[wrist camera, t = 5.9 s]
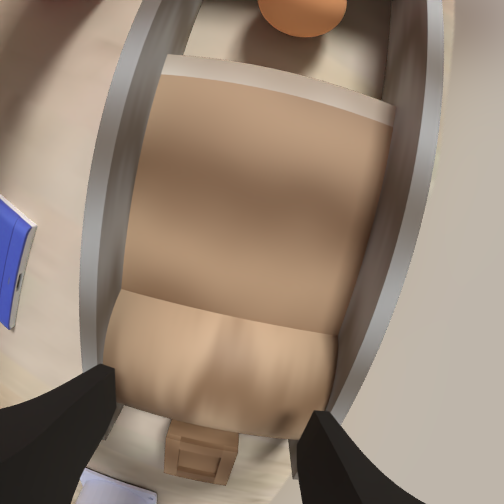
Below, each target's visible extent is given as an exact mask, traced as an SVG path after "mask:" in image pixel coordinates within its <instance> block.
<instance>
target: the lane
mask: <svg viewBox="0 0 504 504" xmlns="http://www.w3.org/2000/svg"><path fill="white" fill-rule="evenodd" d="M202 1H203V0H143V1H142V3H141V5H140V8H139V10H138V12H137V14H136V17H135V19H134V21H133V24H132V26H131V29H130V31H129V34H128V36H127V39H126V41H125V44H124V47H123V49H122V52H121V55H120V58H119V61H118V64H117V67H116V70H115V73H114V76H113V79H112V82H111V85H110V89H109V92H108V96H107V99H106V103H105V106H104V110H103V114H102V118H101V122H100V126H99V131H98V135H97V139H96V144H95V149H94V154H93V159H92V164H91V170H90V176H89V182H88V189H87V196H86V203H85V211H84V220H83V230H82V242H81V257H80V283H79V317H80V342H81V357H82V369H83V373H84V372H86V371H87V370H89V369H91V368H93V367H94V366H96V365H98V364H100V363H101V364H104V365H107V366H109V367H112V368H115V387H116V406H117V408H116V410H115V413H114V415H113V418H112V420H111V423H110V425H109V427H108V429H107V431H106V433H105V435H104V436H103V438H102V439H103V440H106V438H107V436H108V435H109V433H110V431H111V429H112V427H113V425H114V423H115V421H116V419H117V417H118V416H119V414H120V412H121V410H122V408H123V406H124V405H126V406H130V407H133V408H136V409H139V410H142V411H145V412H149V413H152V414H156V415H159V416H163V417H167V418H170V419H174V420H178V421H182V422H186V423H191V424H195V425H199V426H204V427H209V428H214V429H219V430H224V431H230V432H236V433H242V434H249V435H256V436H263V437H272V438H281V439H288V442H289V451H290V459H291V468H292V477H293V479H298V480H299V478H298V472H297V443H298V441H299V439H300V437H301V435H302V433H303V431H304V429H305V427H306V425H307V423H308V421H309V419H310V417H311V415H312V413H313V411H314V410H318V411H329V412H330V413H331V414H332V415H333V417H334V418H335V419H336V420H337V422H338V423H339V424H340V426H341V424H342V422H343V420H344V418H345V417H346V415H347V413H348V411H349V409H350V407H351V406H352V404H353V402H354V400H355V398H356V396H357V394H358V392H359V390H360V388H361V386H362V384H363V382H364V380H365V377H366V376H367V373H368V371H369V369H370V367H371V365H372V362H373V360H374V358H375V356H376V354H377V351H378V349H379V347H380V344H381V342H382V340H383V337H384V335H385V332H386V330H387V327H388V325H389V322H390V320H391V317H392V314H393V312H394V309H395V306H396V304H397V301H398V298H399V295H400V292H401V289H402V287H403V284H404V280H405V278H406V274H407V271H408V268H409V265H410V262H411V258H412V255H413V252H414V248H415V245H416V241H417V237H418V234H419V230H420V226H421V222H422V218H423V214H424V210H425V205H426V201H427V196H428V192H429V187H430V182H431V177H432V171H433V166H434V160H435V154H436V147H437V140H438V133H439V124H440V115H441V105H442V92H443V73H444V26H443V8H442V0H392V2H391V20H390V33H389V44H388V54H387V64H386V72H385V80H384V87H383V94H382V101H381V100H378V99H375V98H373V97H370V96H367V95H364V94H362V93H359V92H356V91H353V90H350V89H347V88H344V87H341V86H338V85H334V84H331V83H328V82H324V81H321V80H317V79H314V78H310V77H306V76H303V75H299V74H295V73H291V72H286V71H282V70H277V69H273V68H268V67H263V66H258V65H253V64H247V63H241V62H235V61H229V60H221V59H214V58H206V57H196V56H185V55H183V53H184V50H185V47H186V44H187V41H188V38H189V35H190V33H191V30H192V27H193V24H194V22H195V19H196V16H197V14H198V11H199V8H200V6H201V3H202Z"/></svg>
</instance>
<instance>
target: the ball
mask: <svg viewBox="0 0 504 504" xmlns="http://www.w3.org/2000/svg"><path fill="white" fill-rule="evenodd" d="M258 5H259V8H260V11H261V13H262V15H263V16H264V18H265V19H266V20H267V21H268V22H269V23H270V24H271V25H272V26H273V27H274V28H276V29H277V30H279V31H281V32H283V33H286V34H288V35H292V36H296V37H315V36H319V35H322V34H325V33H327V32H329V31H331V30H332V29H333V28H335V27H336V26H337V25H338V24H339V23H340V21H341V20H342V18H343V16H344V14H345V11H346V6H347V0H258Z"/></svg>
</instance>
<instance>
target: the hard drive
mask: <svg viewBox="0 0 504 504" xmlns="http://www.w3.org/2000/svg"><path fill="white" fill-rule="evenodd" d="M36 228H37V225H36V224H35V223H34V222H32V221H31V220H30V219H29V218H28V217H26V216H25V215H24V214H23V213H22V212H21V211H20V210H18V209H17V208H16V207H15V206H14V205H13V204H11V203H10V202H9V201H8V200H7V199H6V198H5V197H3V196H2V195H1V194H0V322H1V323H2V324H3V325H4V326H5V327H6V328H7V329H8V330H10V329H11V328H12V327H14V326H15V321H16V314H17V308H18V302H19V297H20V291H21V287H22V282H23V277H24V273H25V268H26V264H27V260H28V256H29V253H30V249H31V245H32V242H33V238H34V235H35V232H36Z"/></svg>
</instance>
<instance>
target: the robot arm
mask: <svg viewBox="0 0 504 504" xmlns="http://www.w3.org/2000/svg"><path fill="white" fill-rule="evenodd" d="M116 408H117V406H116V387H115V368H112V367H109V366H107V365H104V364H101V363H100V364H98V365H96V366H94V367H93V368H91V369H89V370H87V371H86V372H84V373H82V374H81V375H79V376H77V377H75V378H74V379H72V380H70V381H68V382H66V383H65V384H63V385H61V386H59V387H57V388H55V389H53V390H51V391H49V392H47V393H45V394H43V395H40V396H38V397H36V398H34V399H31V400H29V401H26V402H23V403H20V404H17V405H14V406H10V407H6V408H2V409H0V504H71V501H72V498H73V495H74V492H75V490H76V487H77V485H78V482H79V480H81V483H82V486H83V488H82V490H81V492H80V494H79V496H78V498H77V501H76V503H75V504H157V494H156V493H155V492H152V491H149V490H146V489H142V488H139V487H136V486H133V485H130V484H127V483H124V482H121V481H118V480H115V479H113V478H110V477H107V476H105V475H102V474H100V473H97V472H95V471H92V470H90V469H87V468H85V467H86V466H87V464H88V462H89V460H90V459H91V457H92V455H93V454H94V452H95V450H96V448H97V447H98V445H99V443H100V442H101V440H102V438H103V436H104V435H105V433H106V431H107V429H108V427H109V425H110V423H111V420H112V418H113V415H114V413H115V410H116ZM297 472H298V478H299V485H300V490H301V497H302V503H303V504H425V503H424V502H422V501H420V500H418V499H416V498H415V497H413V496H412V495H410V494H409V493H407V492H406V491H404V490H403V489H402V488H400V487H399V486H397V485H396V484H395V483H394V482H393V481H391V480H390V479H389V478H388V477H387V476H385V475H384V474H383V473H382V472H381V471H380V470H379V469H378V468H377V467H376V466H375V465H374V464H373V463H372V462H371V461H370V460H369V459H368V458H367V457H366V456H365V455H364V454H363V452H361V450H360V449H359V448H358V447H357V446H356V444H355V443H354V442H353V441H352V440H351V438H350V437H349V436H348V435H347V433H346V432H345V431H344V429H343V428H342V427H341V426H340V424H339V423H338V422H337V420H336V419H335V418H334V417H333V415H332V414H331V413H330V412H329V411H318V410H314V411H313V413H312V415H311V417H310V419H309V421H308V423H307V425H306V427H305V429H304V431H303V433H302V435H301V437H300V439H299V441H298V443H297Z"/></svg>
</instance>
